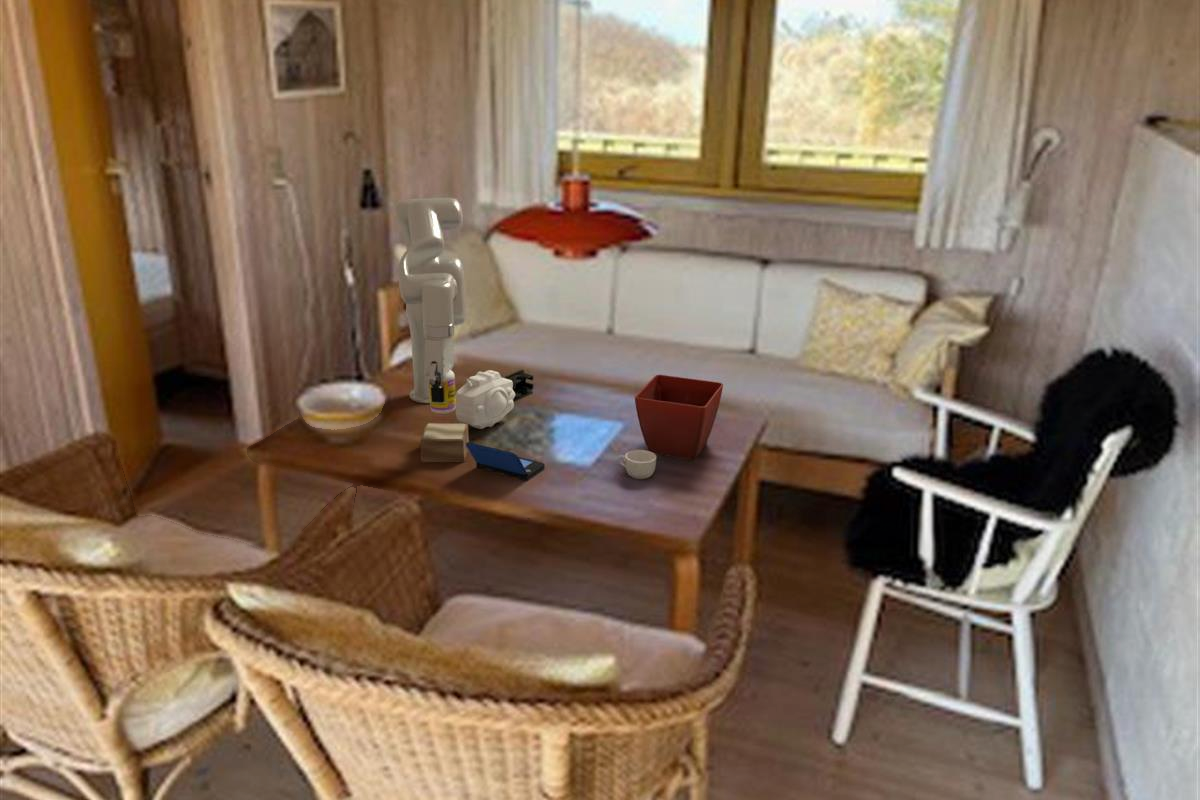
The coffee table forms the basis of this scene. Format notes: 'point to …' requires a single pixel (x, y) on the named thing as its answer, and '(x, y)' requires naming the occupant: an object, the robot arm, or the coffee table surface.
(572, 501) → the coffee table surface
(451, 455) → the pale wooden block
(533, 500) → the coffee table surface
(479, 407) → the camera
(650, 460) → the teacup
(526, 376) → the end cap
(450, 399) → the supplement bottle
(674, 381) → the plant pot
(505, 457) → the handheld game console
